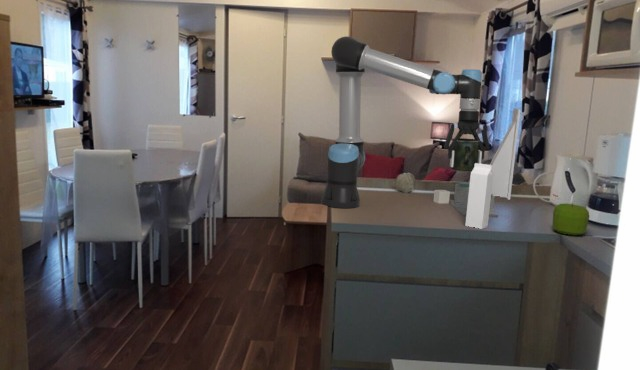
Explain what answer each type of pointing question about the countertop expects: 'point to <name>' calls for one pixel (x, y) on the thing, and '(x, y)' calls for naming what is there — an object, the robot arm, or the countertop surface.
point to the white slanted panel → (505, 160)
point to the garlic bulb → (405, 182)
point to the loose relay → (441, 196)
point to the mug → (465, 154)
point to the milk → (479, 196)
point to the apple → (570, 219)
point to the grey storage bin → (462, 199)
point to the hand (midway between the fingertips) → (465, 167)
